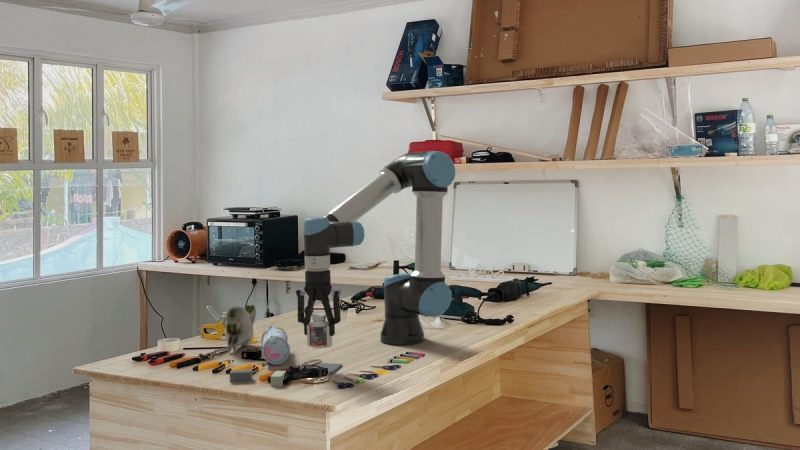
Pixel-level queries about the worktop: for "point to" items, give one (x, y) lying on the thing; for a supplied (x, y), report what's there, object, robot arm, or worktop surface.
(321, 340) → the pill bottle
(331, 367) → the slate mat
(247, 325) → the toy
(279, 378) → the sage brick
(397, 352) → the worktop surface
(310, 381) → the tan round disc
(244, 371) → the charcoal brick
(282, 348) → the pencil case
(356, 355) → the worktop surface
